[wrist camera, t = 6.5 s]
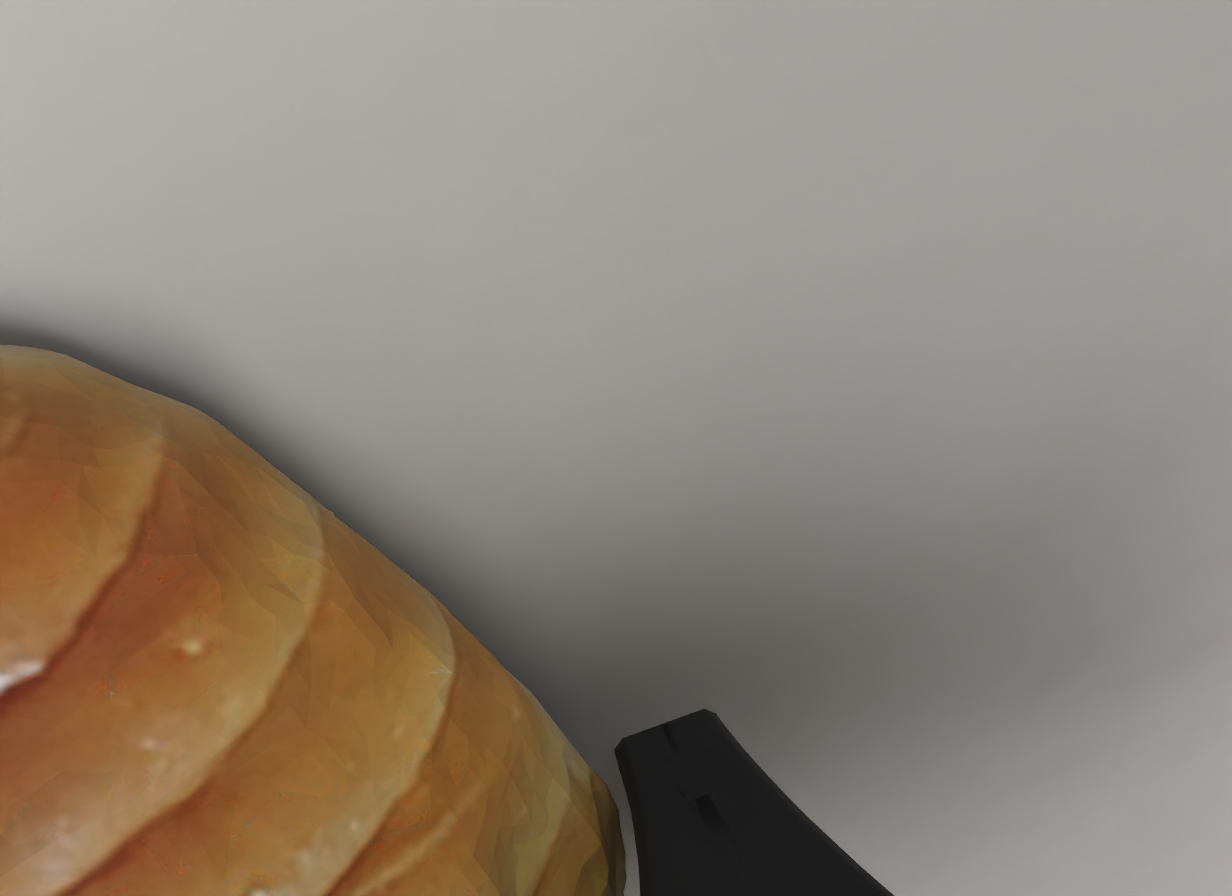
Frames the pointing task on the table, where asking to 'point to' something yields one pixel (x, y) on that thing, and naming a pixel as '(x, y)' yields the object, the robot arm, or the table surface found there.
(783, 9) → the table surface
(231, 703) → the pastry
